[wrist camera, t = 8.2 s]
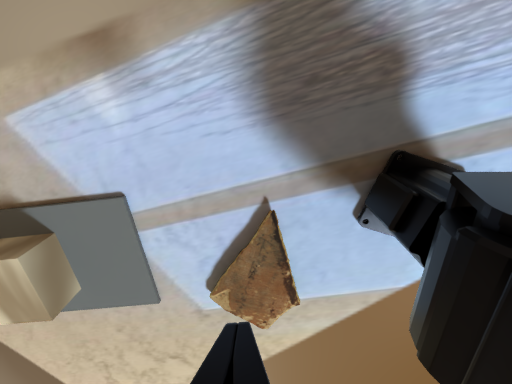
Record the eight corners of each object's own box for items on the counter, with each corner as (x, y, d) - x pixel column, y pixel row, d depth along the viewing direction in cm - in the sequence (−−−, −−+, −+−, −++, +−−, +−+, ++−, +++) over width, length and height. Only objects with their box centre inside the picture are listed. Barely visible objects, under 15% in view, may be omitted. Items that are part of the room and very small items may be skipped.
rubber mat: (125, 195, 20) (122, 197, 20) (160, 300, 24) (159, 303, 24) (-57, 216, 21) (-63, 218, 21) (6, 313, 25) (2, 316, 25)
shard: (272, 202, 21) (273, 211, 19) (343, 245, 22) (349, 258, 21) (208, 287, 24) (204, 301, 23) (273, 320, 26) (274, 336, 24)
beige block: (17, 258, 18) (-85, 268, 18) (52, 320, 20) (-40, 328, 21) (54, 232, 21) (-33, 242, 22) (81, 288, 23) (1, 295, 24)
